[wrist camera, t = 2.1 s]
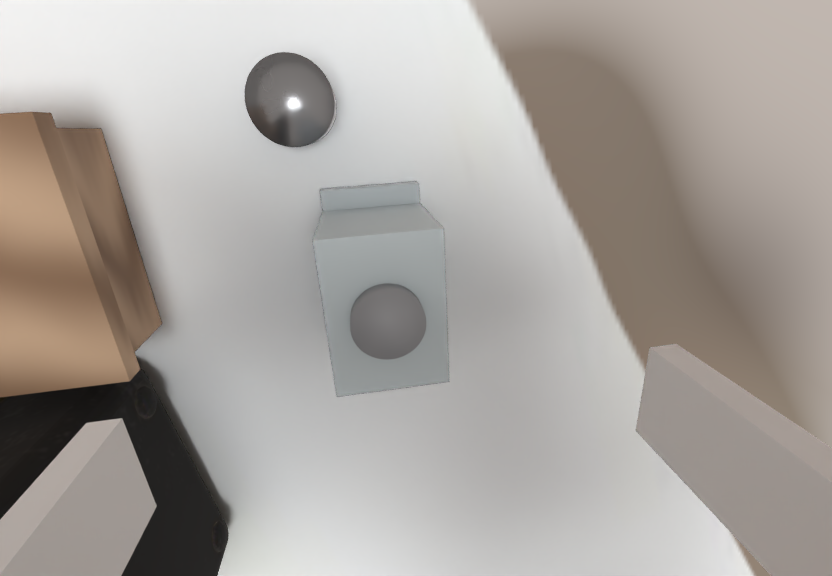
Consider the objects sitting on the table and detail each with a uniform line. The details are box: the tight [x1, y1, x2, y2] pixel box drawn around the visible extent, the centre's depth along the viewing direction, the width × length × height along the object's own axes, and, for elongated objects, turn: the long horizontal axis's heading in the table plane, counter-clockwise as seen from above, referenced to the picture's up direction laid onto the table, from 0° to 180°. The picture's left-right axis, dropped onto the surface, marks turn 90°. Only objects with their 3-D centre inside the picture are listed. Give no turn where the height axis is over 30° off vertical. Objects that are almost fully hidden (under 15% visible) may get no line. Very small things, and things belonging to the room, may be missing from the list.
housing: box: [313, 181, 449, 397], centre depth 20 cm, size 9×5×8 cm, turn 3°
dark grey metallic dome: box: [245, 52, 337, 147], centre depth 19 cm, size 4×4×3 cm
